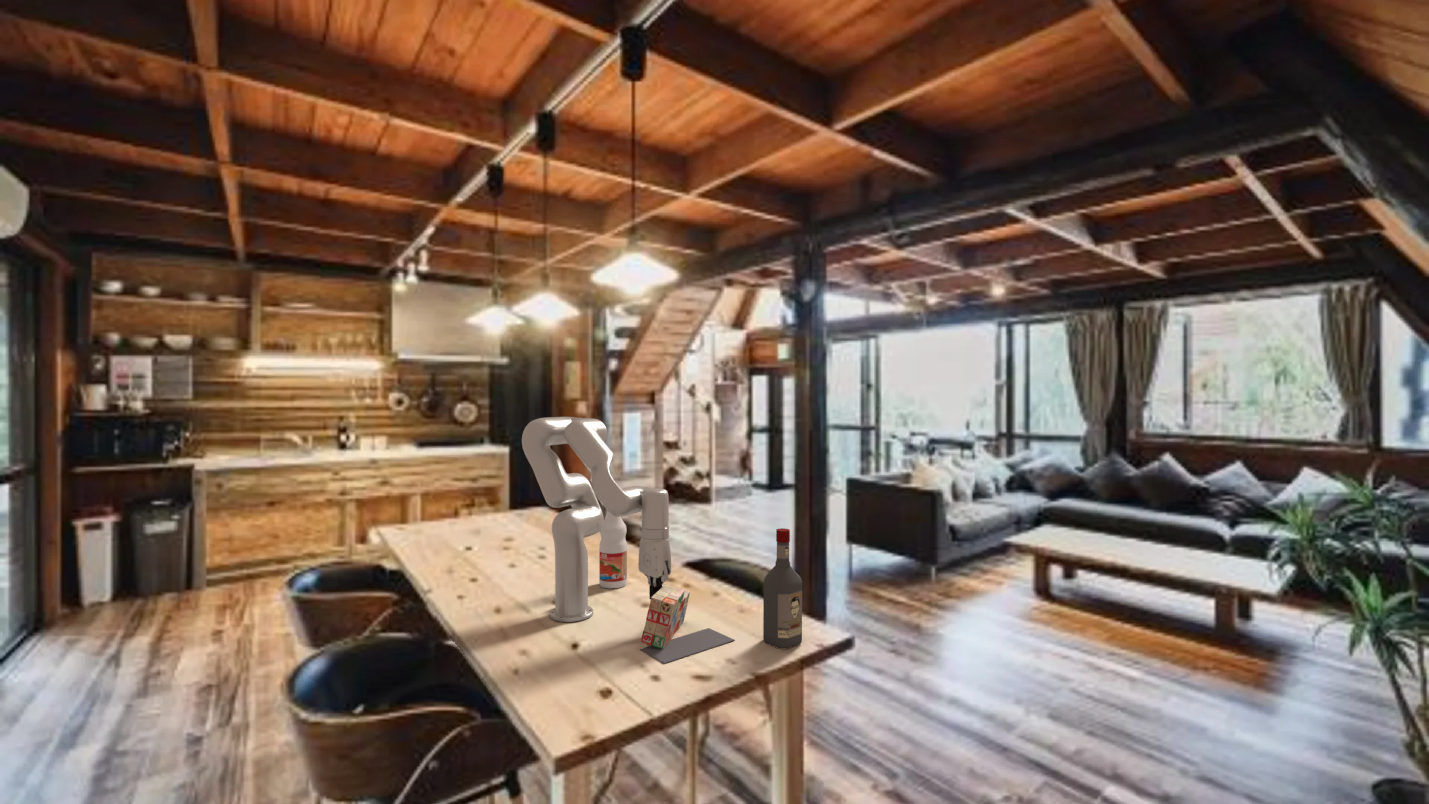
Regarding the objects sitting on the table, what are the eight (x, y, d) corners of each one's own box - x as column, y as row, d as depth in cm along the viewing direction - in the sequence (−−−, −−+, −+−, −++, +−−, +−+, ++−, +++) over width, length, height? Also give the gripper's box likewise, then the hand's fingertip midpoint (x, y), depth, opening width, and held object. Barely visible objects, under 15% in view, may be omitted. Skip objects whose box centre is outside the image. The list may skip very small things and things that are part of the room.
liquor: (758, 640, 171) (758, 529, 171) (782, 632, 177) (782, 524, 177) (782, 651, 164) (783, 535, 164) (806, 642, 170) (807, 530, 170)
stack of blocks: (663, 615, 186) (673, 575, 186) (683, 622, 185) (693, 581, 184) (640, 642, 165) (651, 596, 165) (663, 649, 164) (674, 603, 163)
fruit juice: (632, 584, 221) (632, 503, 220) (612, 591, 213) (612, 507, 213) (614, 579, 227) (614, 500, 226) (593, 585, 219) (593, 504, 219)
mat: (639, 650, 165) (639, 648, 165) (708, 629, 179) (708, 628, 179) (664, 664, 156) (664, 662, 156) (734, 640, 171) (734, 639, 171)
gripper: (629, 531, 181) (629, 595, 181) (659, 540, 169) (660, 609, 170) (651, 527, 186) (651, 590, 186) (682, 535, 174) (682, 602, 174)
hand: (655, 599), depth 178 cm, fingers closed
